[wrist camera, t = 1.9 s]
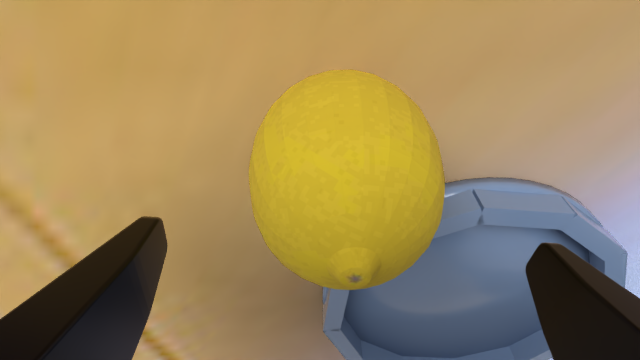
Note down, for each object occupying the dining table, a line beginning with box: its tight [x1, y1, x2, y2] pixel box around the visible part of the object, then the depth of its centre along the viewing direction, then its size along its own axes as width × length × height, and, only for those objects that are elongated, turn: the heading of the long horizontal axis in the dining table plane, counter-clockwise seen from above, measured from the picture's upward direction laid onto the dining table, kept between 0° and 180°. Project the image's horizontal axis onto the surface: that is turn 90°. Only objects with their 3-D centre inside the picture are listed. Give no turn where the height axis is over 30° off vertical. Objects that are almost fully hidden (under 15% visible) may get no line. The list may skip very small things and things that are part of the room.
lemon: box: [249, 70, 445, 290], centre depth 11 cm, size 6×6×8 cm
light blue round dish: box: [323, 178, 627, 360], centre depth 20 cm, size 15×15×2 cm
